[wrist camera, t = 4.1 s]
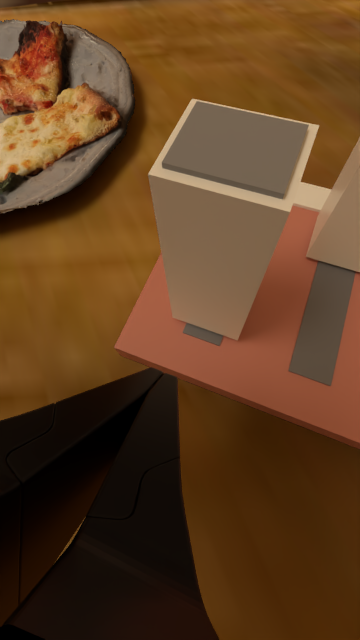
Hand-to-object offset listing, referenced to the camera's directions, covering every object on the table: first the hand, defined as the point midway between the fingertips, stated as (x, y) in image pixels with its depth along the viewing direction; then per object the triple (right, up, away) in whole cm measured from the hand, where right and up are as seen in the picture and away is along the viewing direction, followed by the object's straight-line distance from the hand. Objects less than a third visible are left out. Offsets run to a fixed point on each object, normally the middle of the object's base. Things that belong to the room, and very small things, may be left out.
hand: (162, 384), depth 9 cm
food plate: (-15, +18, +16) cm, 28 cm away
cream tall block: (+2, +3, +7) cm, 8 cm away
